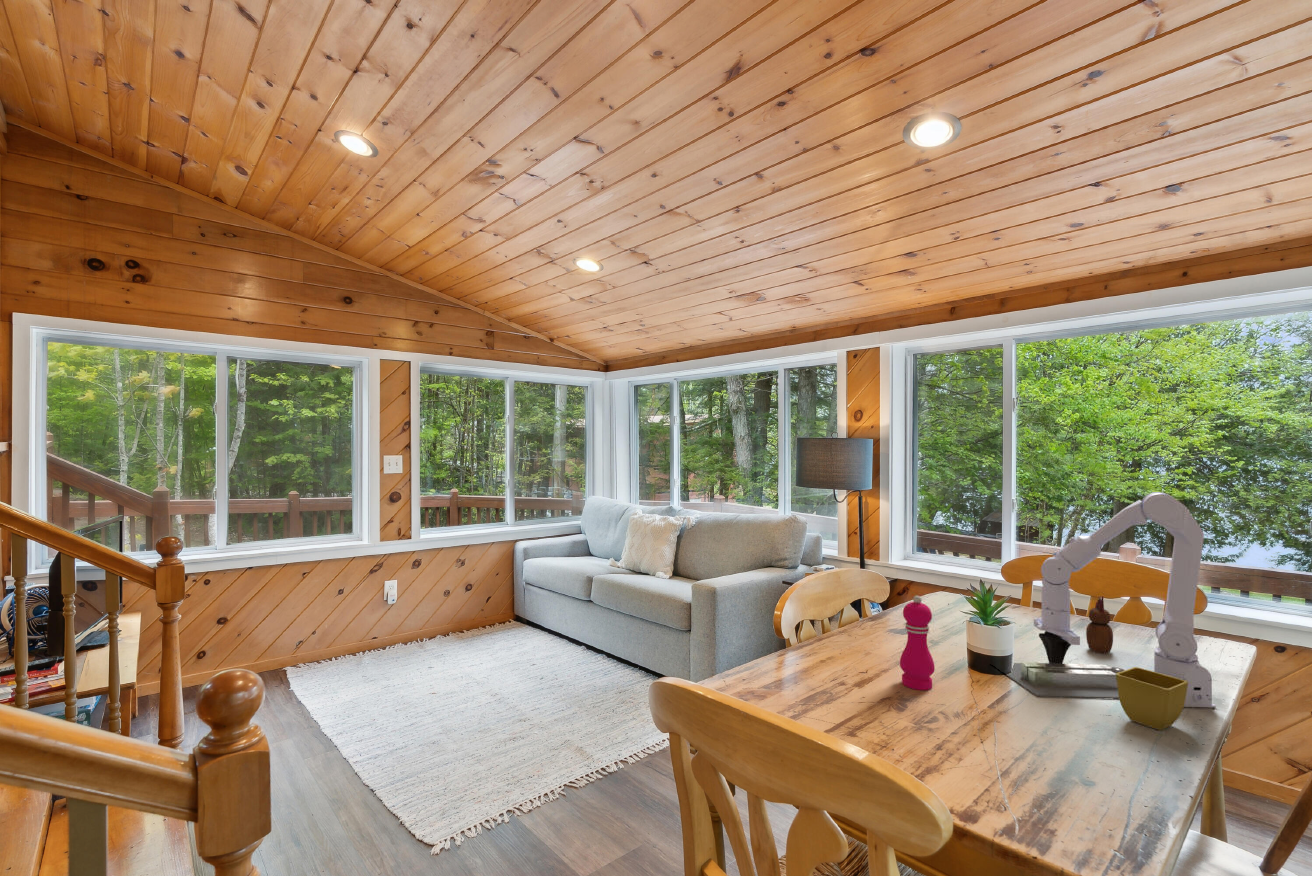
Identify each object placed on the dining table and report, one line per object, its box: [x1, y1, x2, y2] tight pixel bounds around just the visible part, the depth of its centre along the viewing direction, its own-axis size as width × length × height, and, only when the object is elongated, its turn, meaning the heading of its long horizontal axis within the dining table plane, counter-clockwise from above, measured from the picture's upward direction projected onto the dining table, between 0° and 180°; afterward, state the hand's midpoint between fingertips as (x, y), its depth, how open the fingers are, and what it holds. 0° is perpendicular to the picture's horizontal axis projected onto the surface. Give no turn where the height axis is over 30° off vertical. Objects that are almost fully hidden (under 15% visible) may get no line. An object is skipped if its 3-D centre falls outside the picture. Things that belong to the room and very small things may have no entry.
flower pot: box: [1116, 666, 1188, 731], centre depth 119 cm, size 9×9×9 cm
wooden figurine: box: [1085, 595, 1114, 654], centre depth 162 cm, size 7×6×15 cm
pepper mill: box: [899, 595, 935, 691], centre depth 137 cm, size 7×7×20 cm
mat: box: [1006, 662, 1119, 700], centre depth 140 cm, size 20×27×1 cm
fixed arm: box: [1028, 668, 1117, 688], centre depth 137 cm, size 18×2×3 cm, turn 88°
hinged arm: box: [1020, 661, 1125, 680], centre depth 139 cm, size 21×4×3 cm, turn 88°
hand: (1055, 665), depth 145 cm, fingers closed
